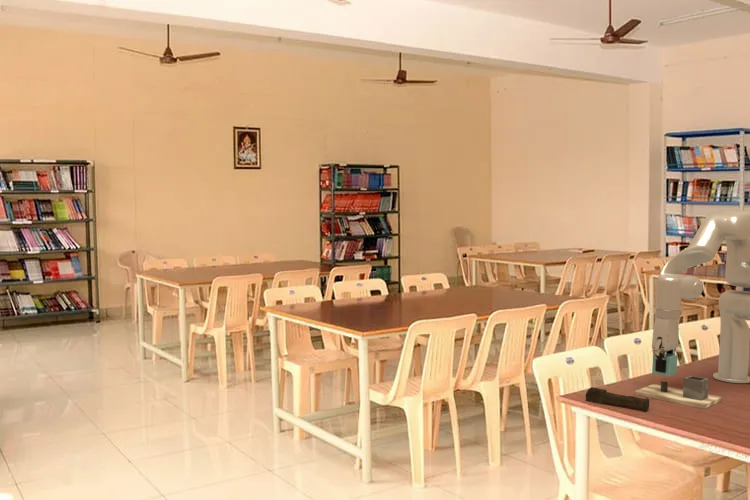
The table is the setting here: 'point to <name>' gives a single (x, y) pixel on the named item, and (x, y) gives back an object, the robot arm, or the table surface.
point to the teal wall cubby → (667, 365)
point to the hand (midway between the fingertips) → (664, 370)
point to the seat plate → (683, 393)
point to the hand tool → (616, 399)
